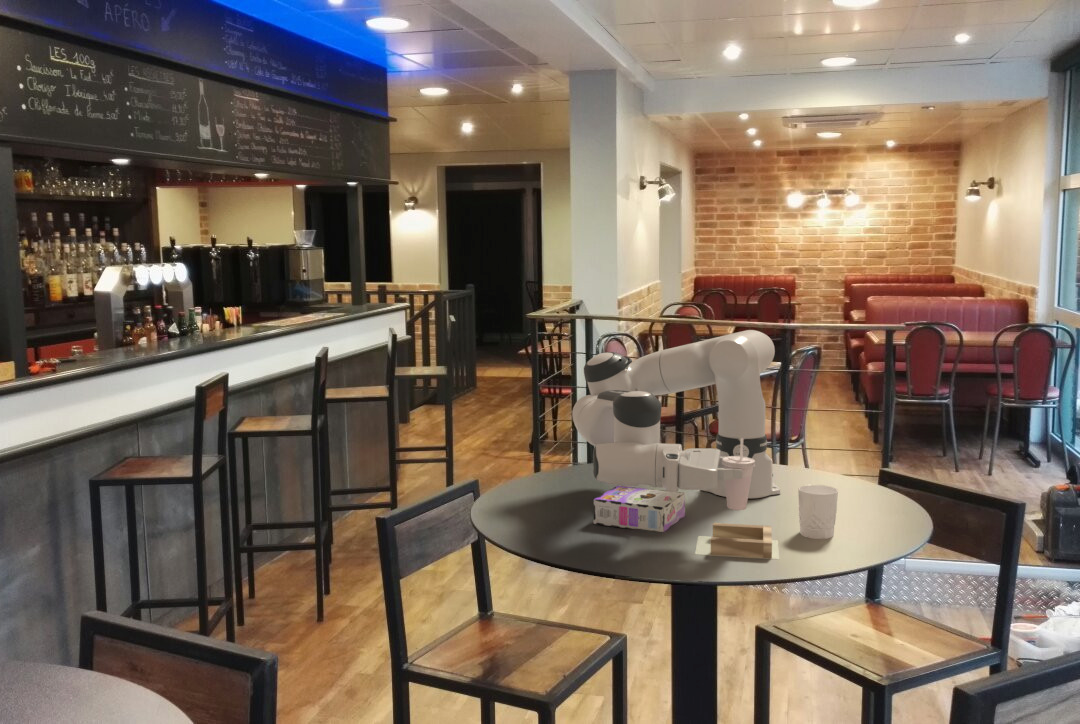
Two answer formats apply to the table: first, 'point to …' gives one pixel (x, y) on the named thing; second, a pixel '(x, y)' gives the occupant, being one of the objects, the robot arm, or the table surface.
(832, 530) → the white cup
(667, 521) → the candy box
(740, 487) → the smoothie
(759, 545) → the rack
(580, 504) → the table surface
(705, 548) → the mat
